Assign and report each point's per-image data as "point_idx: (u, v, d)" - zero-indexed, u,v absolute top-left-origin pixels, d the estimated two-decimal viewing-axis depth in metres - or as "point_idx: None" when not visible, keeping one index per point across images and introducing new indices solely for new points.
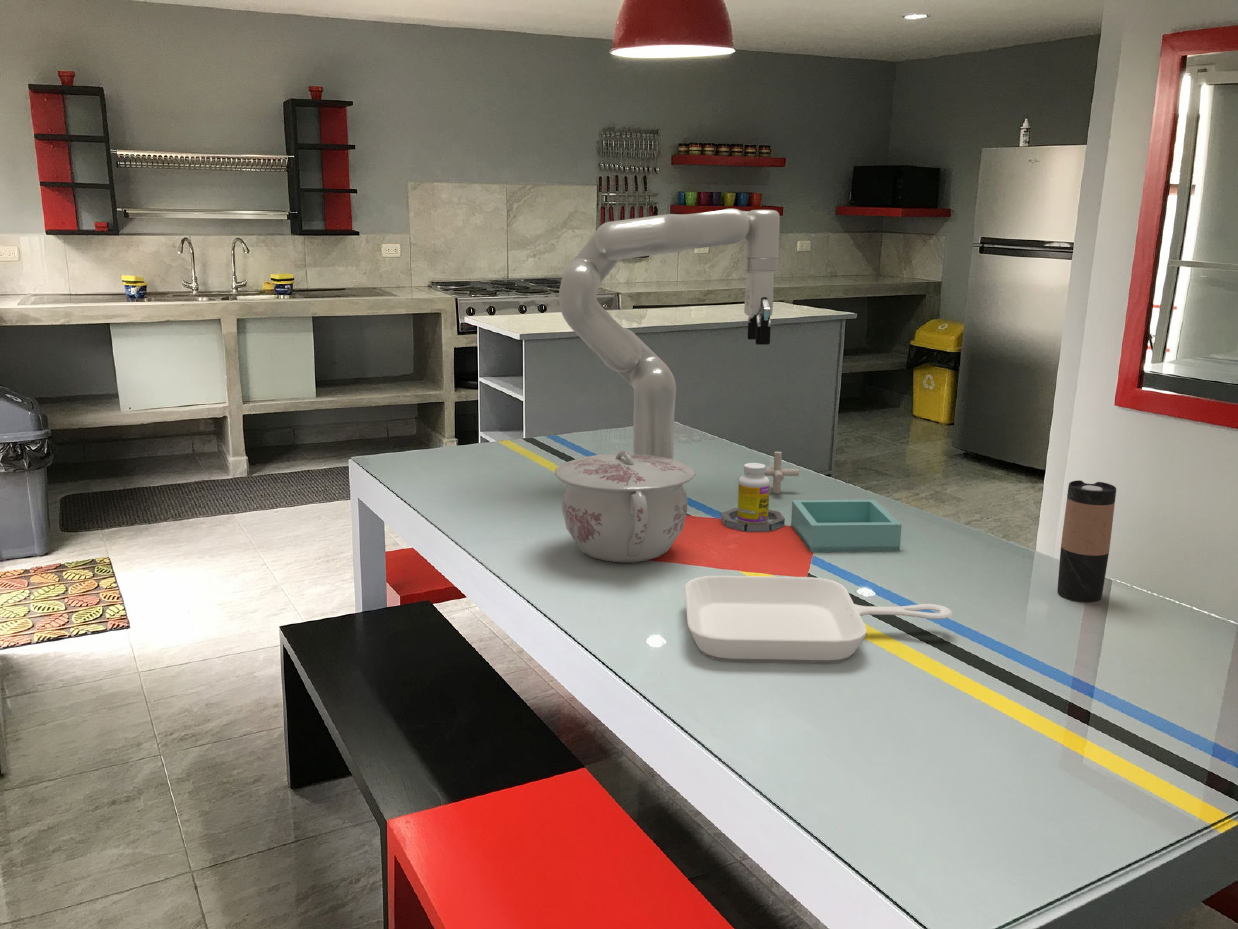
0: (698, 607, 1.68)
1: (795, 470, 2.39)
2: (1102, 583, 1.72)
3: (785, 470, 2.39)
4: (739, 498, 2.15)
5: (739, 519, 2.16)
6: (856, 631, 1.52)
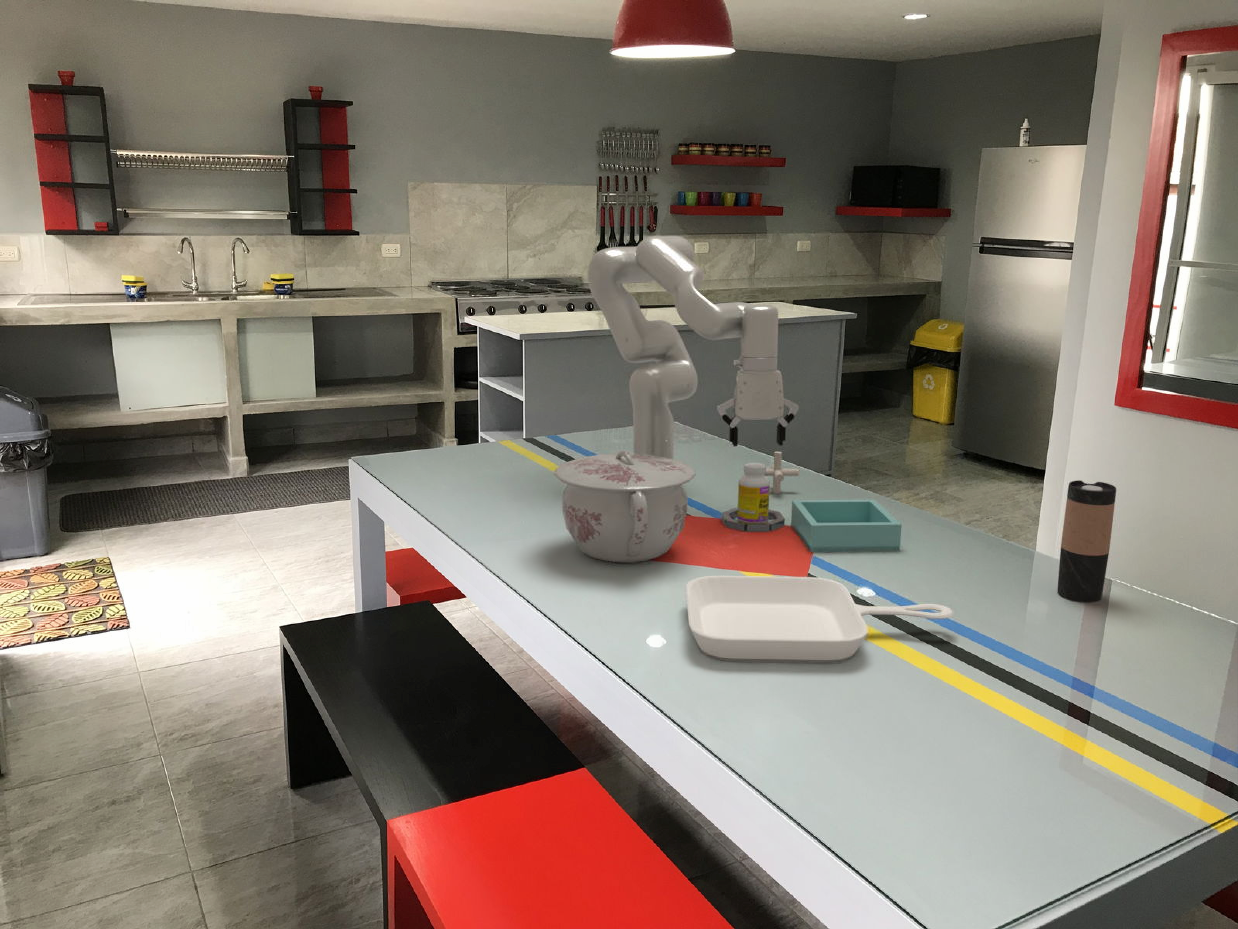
0: (699, 607, 1.68)
1: (795, 470, 2.39)
2: (1102, 583, 1.72)
3: (785, 470, 2.39)
4: (739, 498, 2.15)
5: (739, 519, 2.16)
6: (857, 631, 1.52)
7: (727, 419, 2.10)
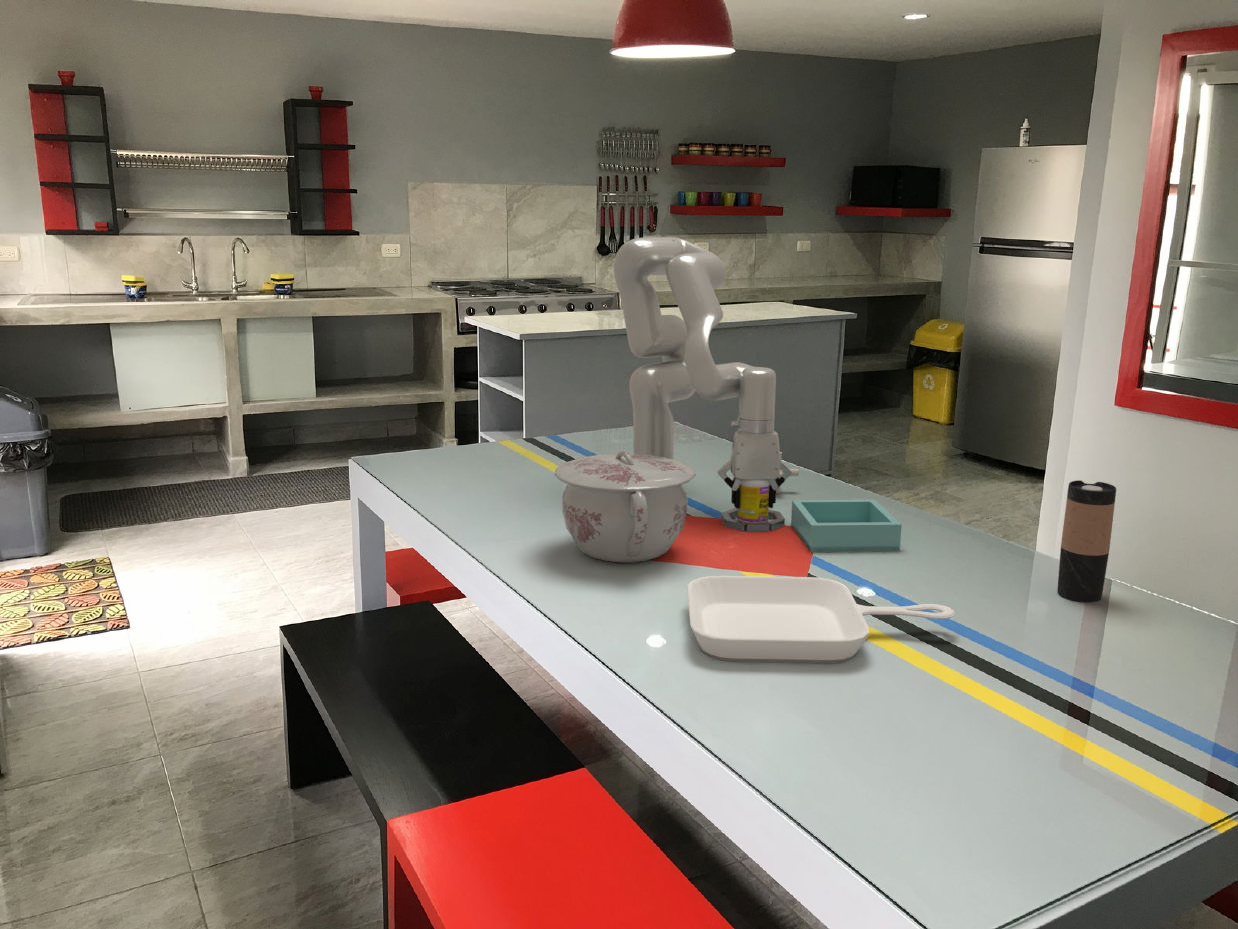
0: (700, 607, 1.68)
1: (795, 470, 2.39)
2: (1102, 583, 1.72)
3: None
4: None
5: (739, 519, 2.16)
6: (859, 631, 1.52)
7: (729, 482, 2.14)
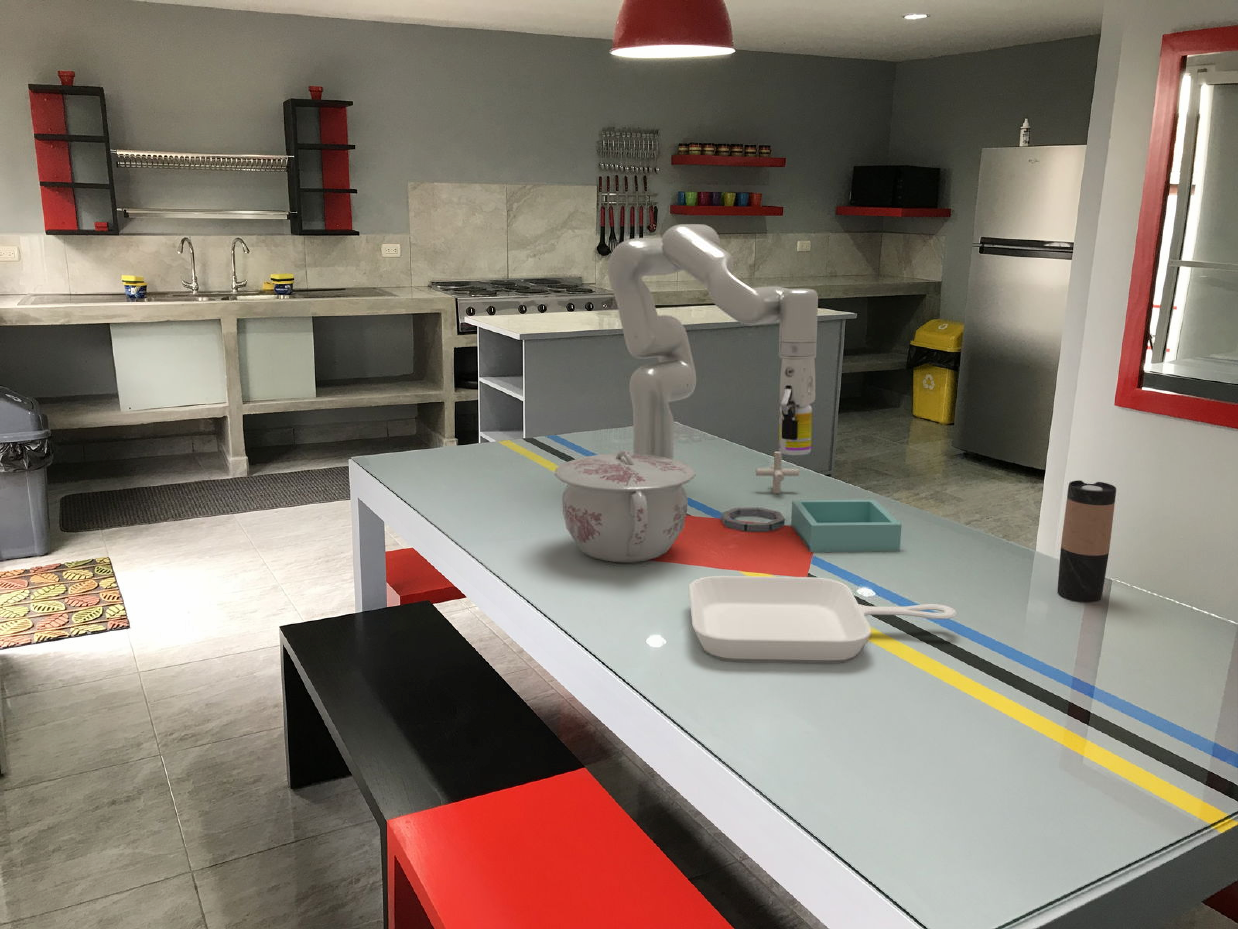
0: (702, 607, 1.68)
1: (795, 470, 2.39)
2: (1102, 583, 1.72)
3: (785, 470, 2.39)
4: None
5: (795, 450, 2.05)
6: (860, 631, 1.52)
7: (791, 413, 2.02)
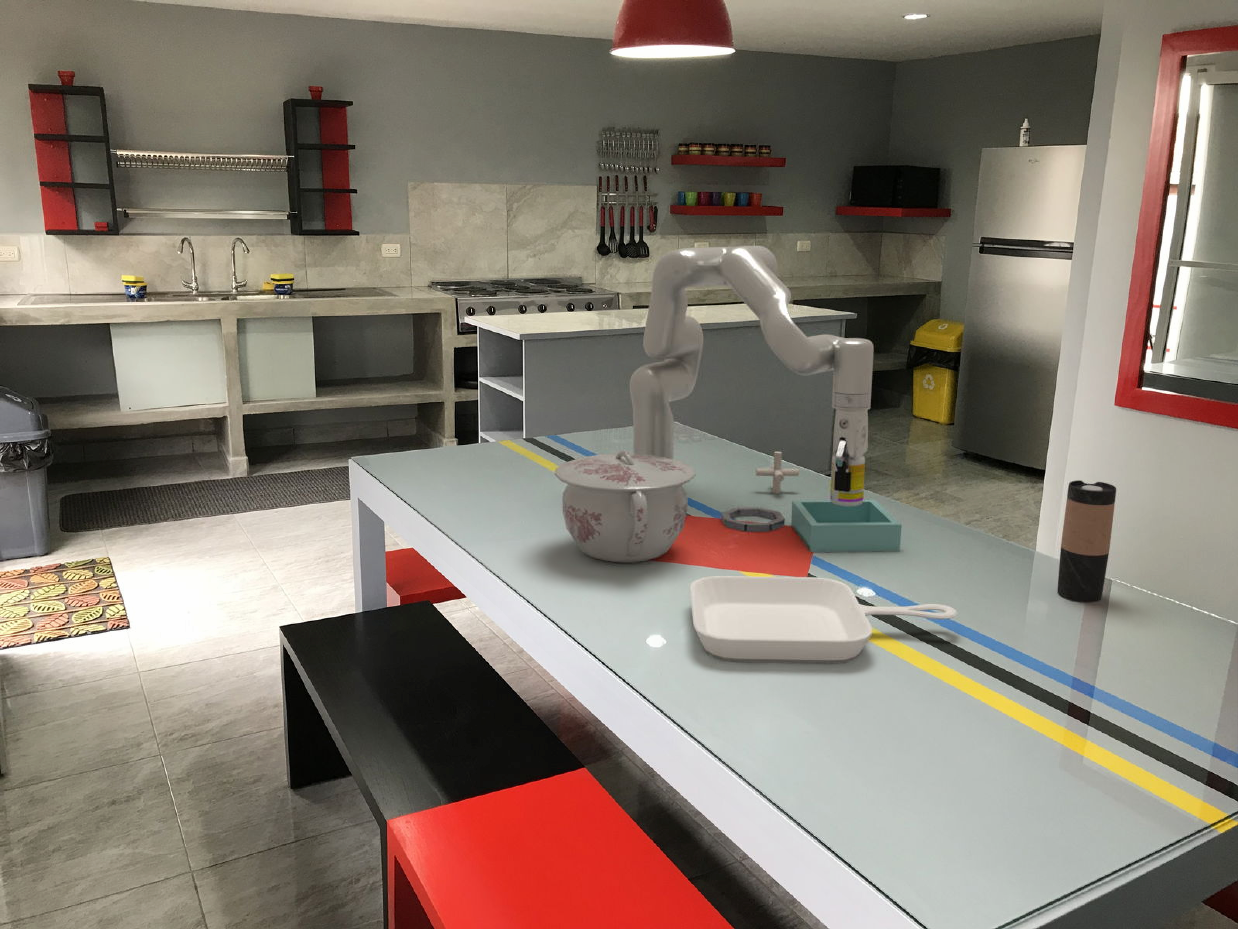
0: (703, 607, 1.68)
1: (795, 470, 2.39)
2: (1102, 583, 1.72)
3: (785, 470, 2.39)
4: None
5: (848, 502, 2.02)
6: (862, 631, 1.53)
7: None
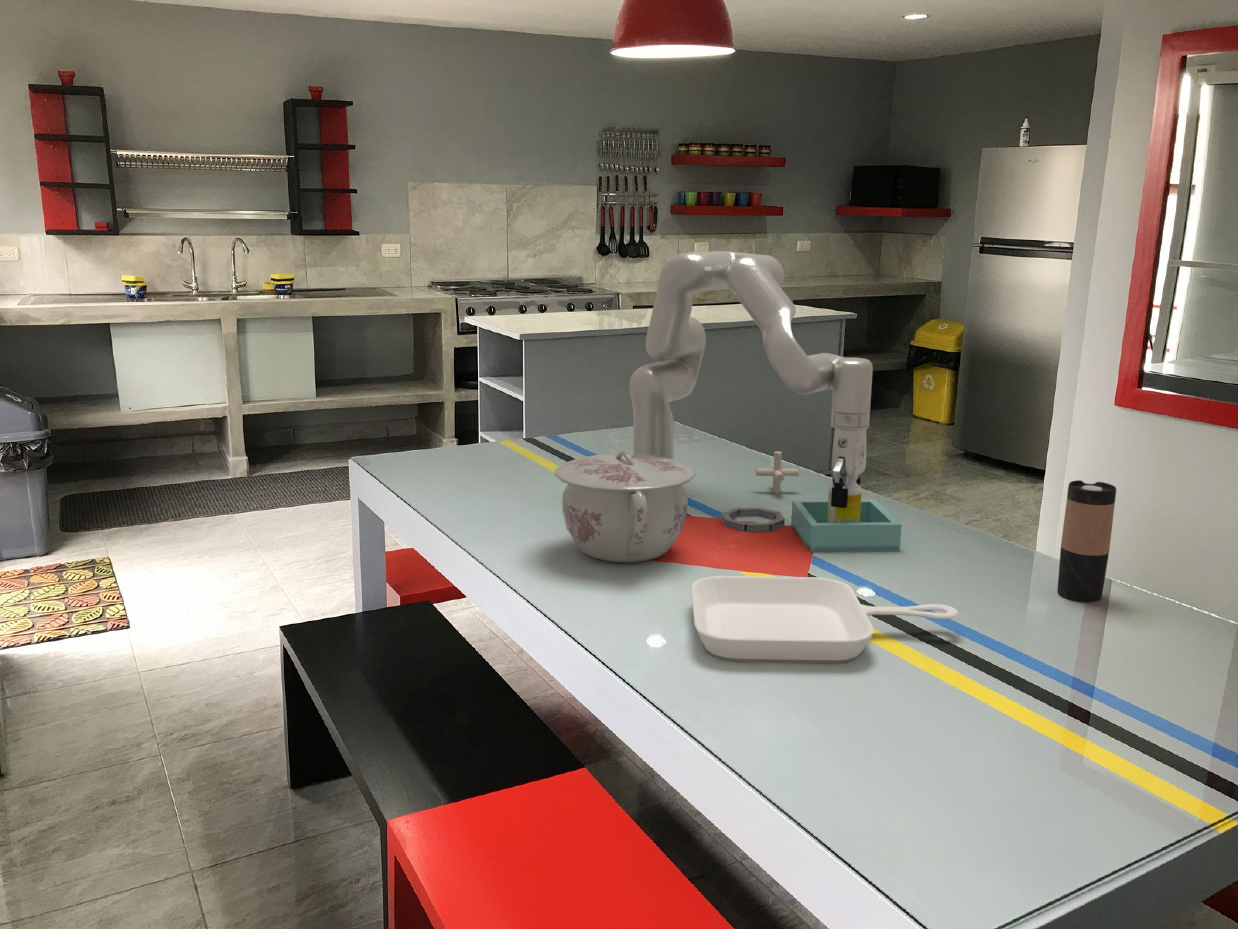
0: (704, 607, 1.68)
1: (795, 470, 2.39)
2: (1102, 583, 1.72)
3: (785, 470, 2.39)
4: (843, 509, 2.03)
5: None
6: (863, 631, 1.52)
7: (842, 482, 1.98)
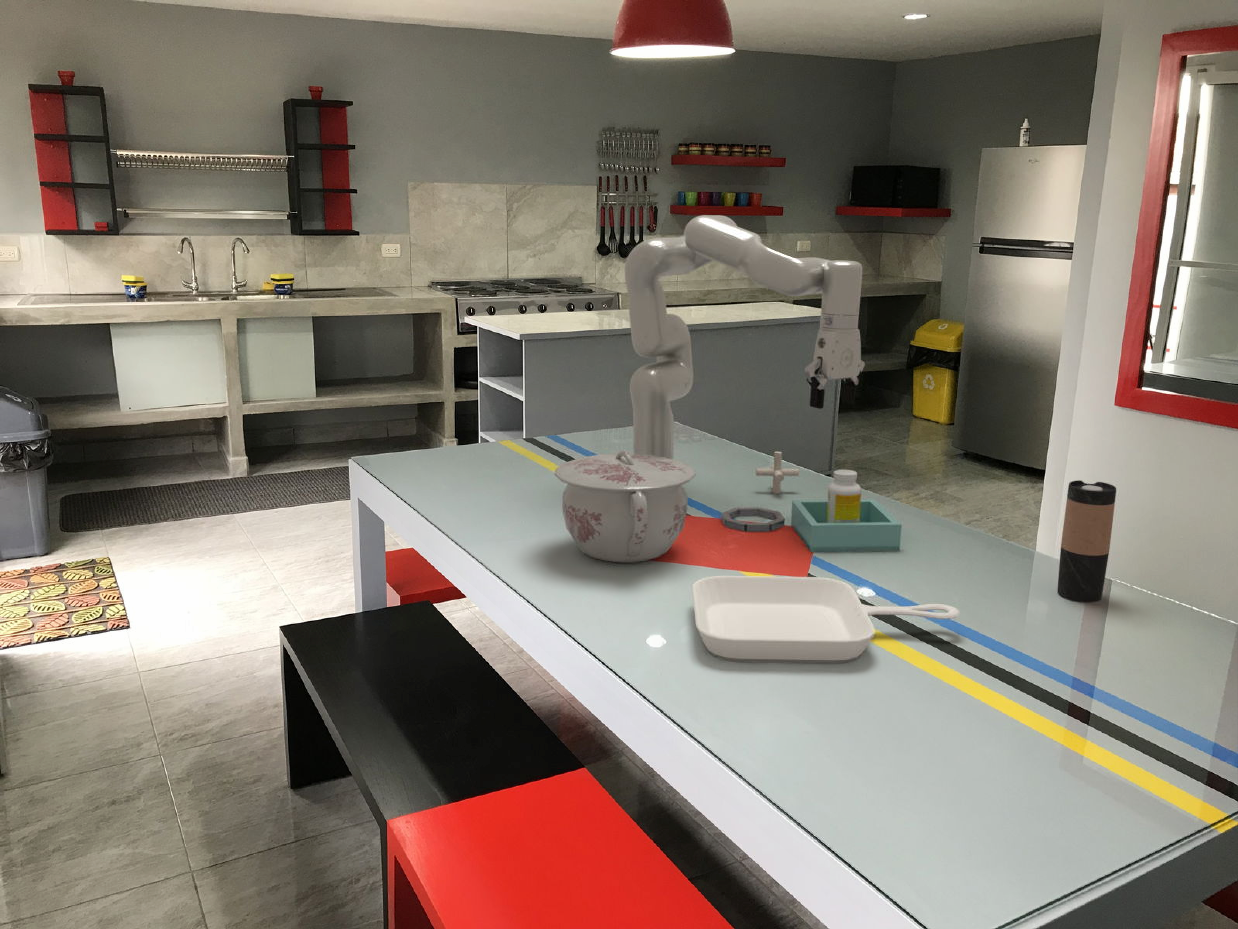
0: (705, 607, 1.68)
1: (795, 470, 2.39)
2: (1102, 583, 1.72)
3: (785, 470, 2.39)
4: (842, 509, 2.03)
5: None
6: (864, 631, 1.52)
7: (815, 381, 2.01)
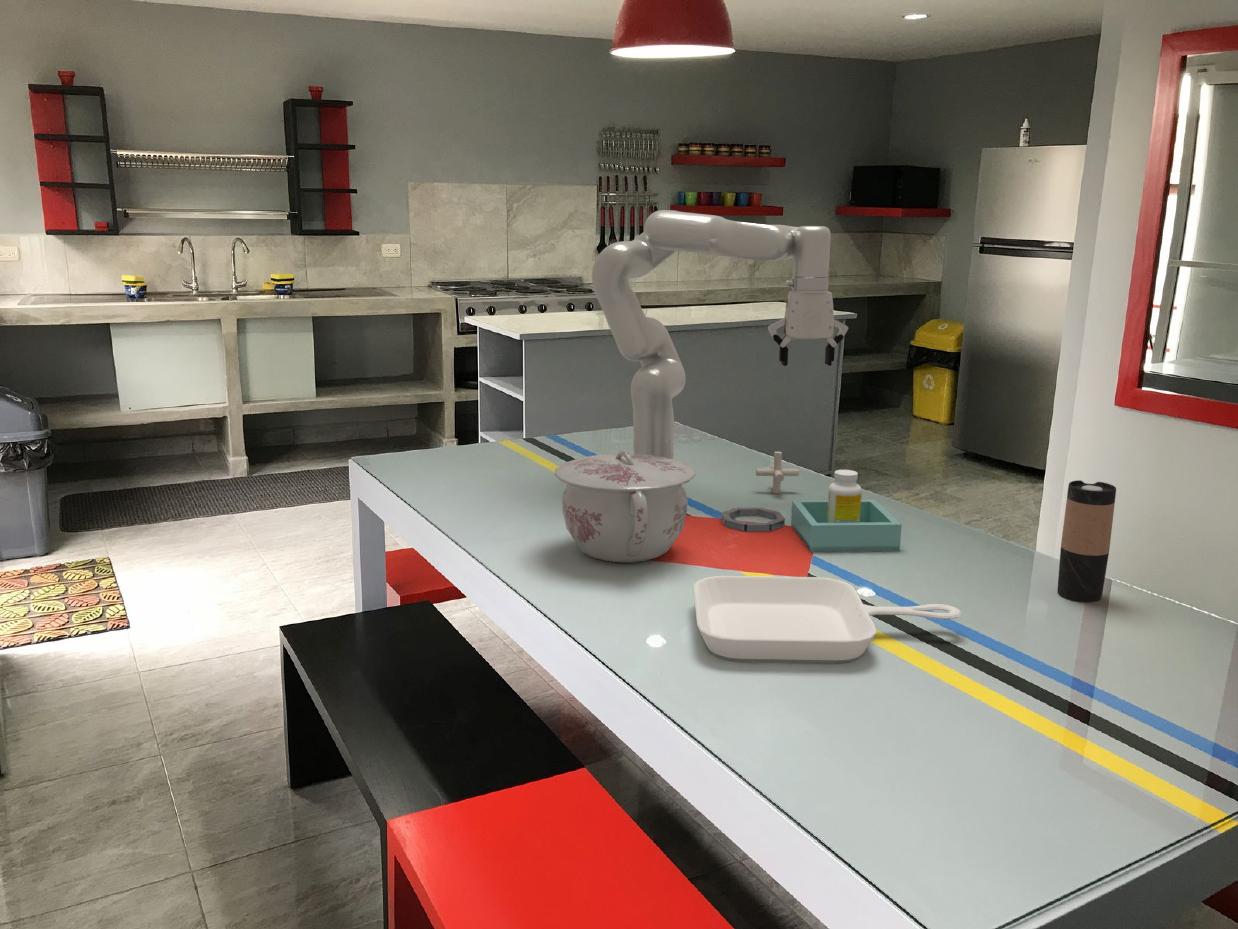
0: (707, 607, 1.68)
1: (795, 470, 2.39)
2: (1102, 583, 1.72)
3: (785, 470, 2.39)
4: (843, 510, 2.03)
5: None
6: (865, 631, 1.52)
7: (778, 339, 2.15)
